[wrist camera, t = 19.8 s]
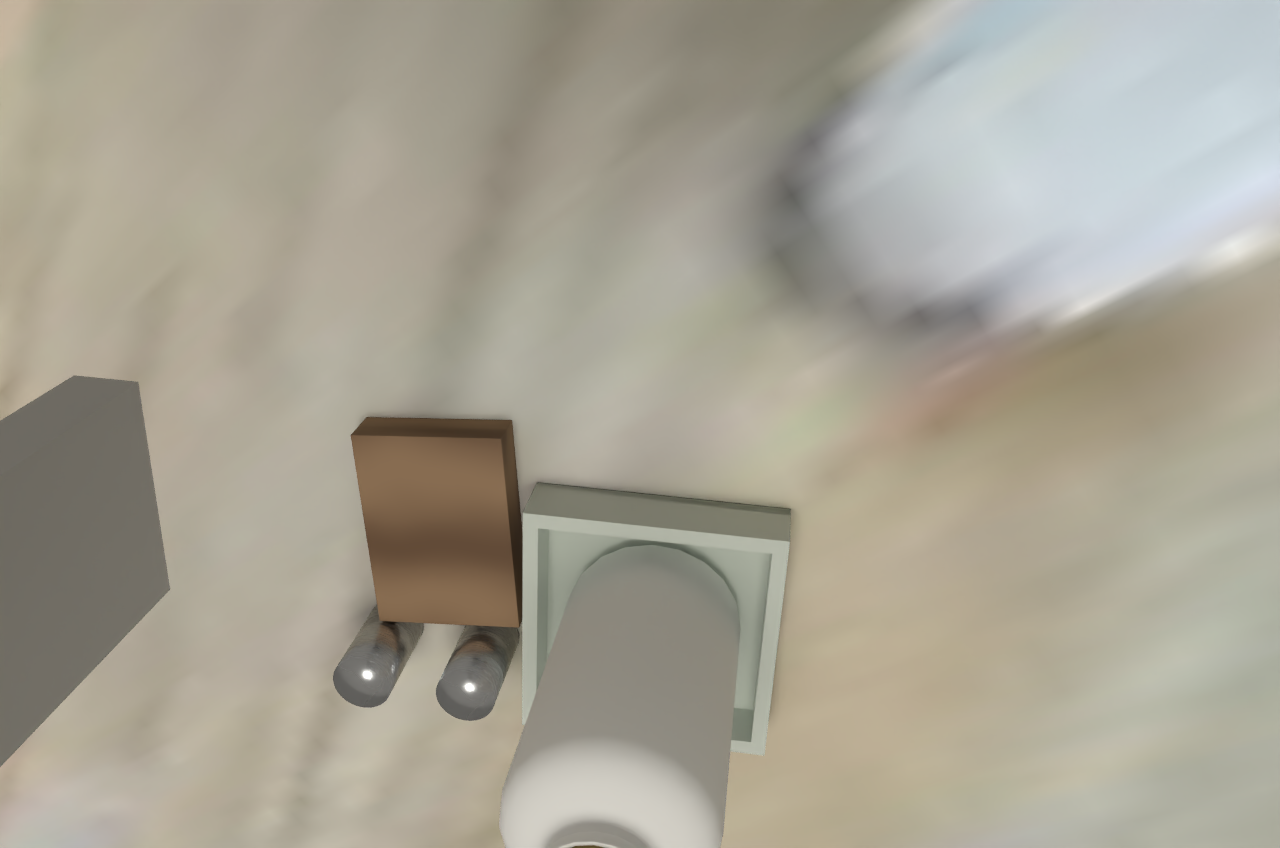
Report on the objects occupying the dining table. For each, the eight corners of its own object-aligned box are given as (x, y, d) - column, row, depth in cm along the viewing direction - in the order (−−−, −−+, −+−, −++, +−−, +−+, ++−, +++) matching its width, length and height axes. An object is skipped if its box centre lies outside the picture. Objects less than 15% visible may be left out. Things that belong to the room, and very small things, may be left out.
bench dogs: (369, 596, 56) (331, 655, 51) (519, 614, 55) (494, 675, 51) (372, 642, 57) (335, 703, 53) (519, 660, 56) (494, 723, 52)
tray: (537, 482, 52) (522, 513, 49) (790, 509, 51) (790, 541, 48) (535, 686, 57) (522, 724, 54) (766, 715, 56) (764, 755, 53)
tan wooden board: (370, 413, 52) (350, 435, 50) (514, 416, 51) (500, 438, 49) (396, 593, 56) (379, 620, 54) (530, 599, 55) (519, 627, 53)
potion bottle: (604, 694, 56) (523, 1010, 39) (546, 557, 53) (433, 836, 37) (763, 662, 54) (746, 981, 37) (711, 517, 51) (669, 795, 34)
